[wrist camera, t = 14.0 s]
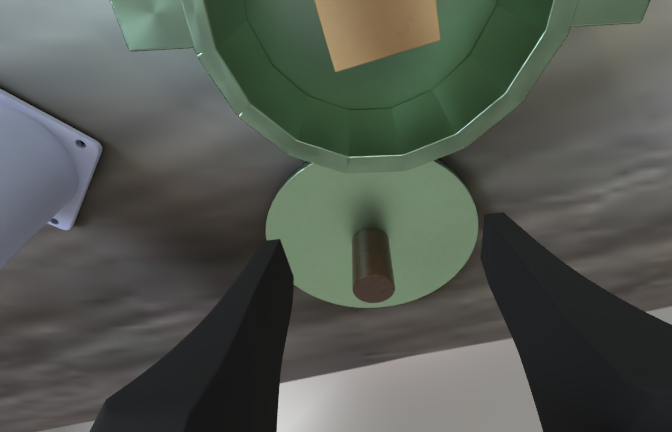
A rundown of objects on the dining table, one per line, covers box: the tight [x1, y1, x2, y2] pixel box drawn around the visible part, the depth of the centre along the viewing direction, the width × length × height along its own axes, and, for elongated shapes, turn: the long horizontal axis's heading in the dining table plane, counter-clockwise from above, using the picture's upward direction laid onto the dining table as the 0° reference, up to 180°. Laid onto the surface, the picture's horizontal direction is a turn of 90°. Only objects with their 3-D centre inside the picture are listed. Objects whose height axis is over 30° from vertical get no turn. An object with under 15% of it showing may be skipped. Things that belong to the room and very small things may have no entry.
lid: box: [265, 159, 478, 308], centre depth 23 cm, size 14×14×5 cm
